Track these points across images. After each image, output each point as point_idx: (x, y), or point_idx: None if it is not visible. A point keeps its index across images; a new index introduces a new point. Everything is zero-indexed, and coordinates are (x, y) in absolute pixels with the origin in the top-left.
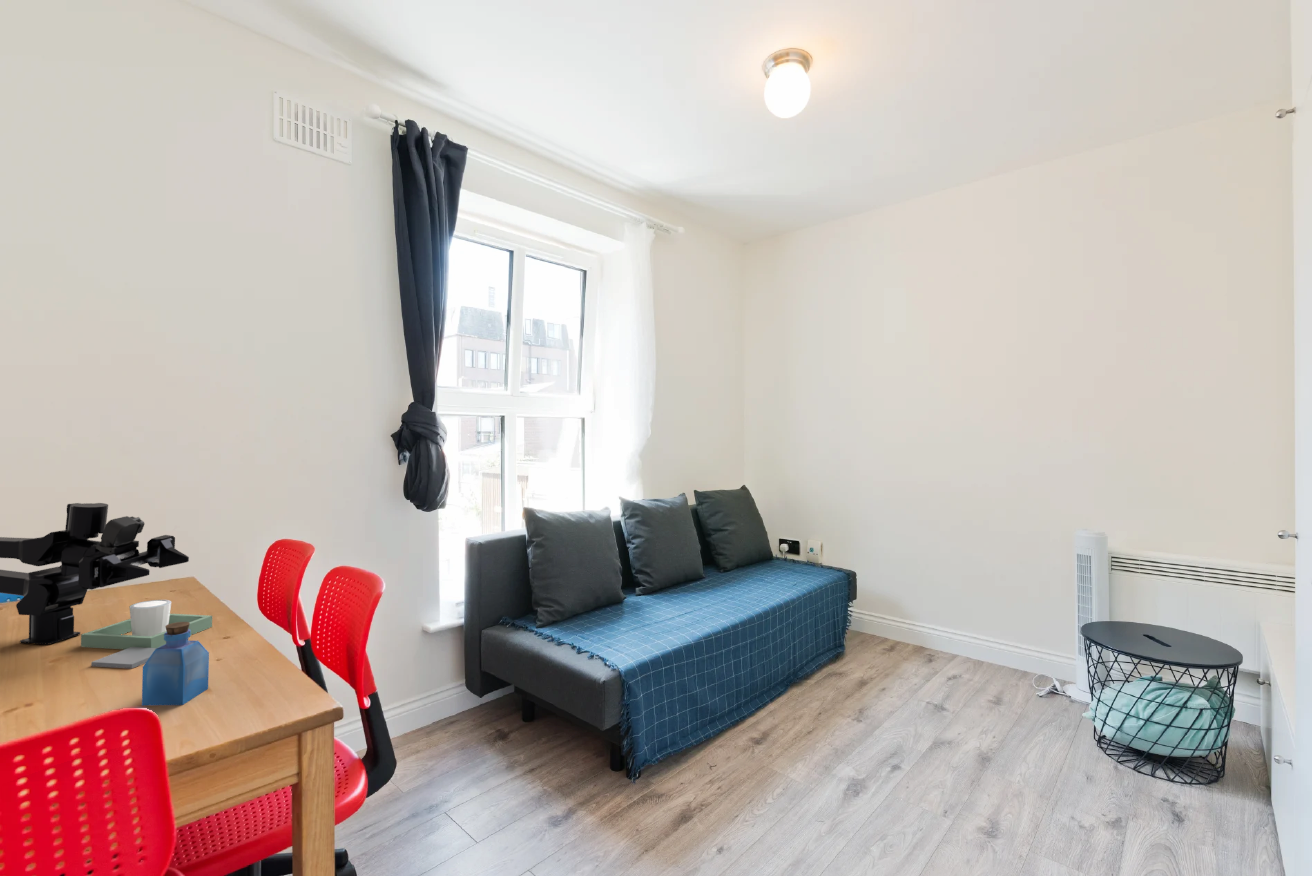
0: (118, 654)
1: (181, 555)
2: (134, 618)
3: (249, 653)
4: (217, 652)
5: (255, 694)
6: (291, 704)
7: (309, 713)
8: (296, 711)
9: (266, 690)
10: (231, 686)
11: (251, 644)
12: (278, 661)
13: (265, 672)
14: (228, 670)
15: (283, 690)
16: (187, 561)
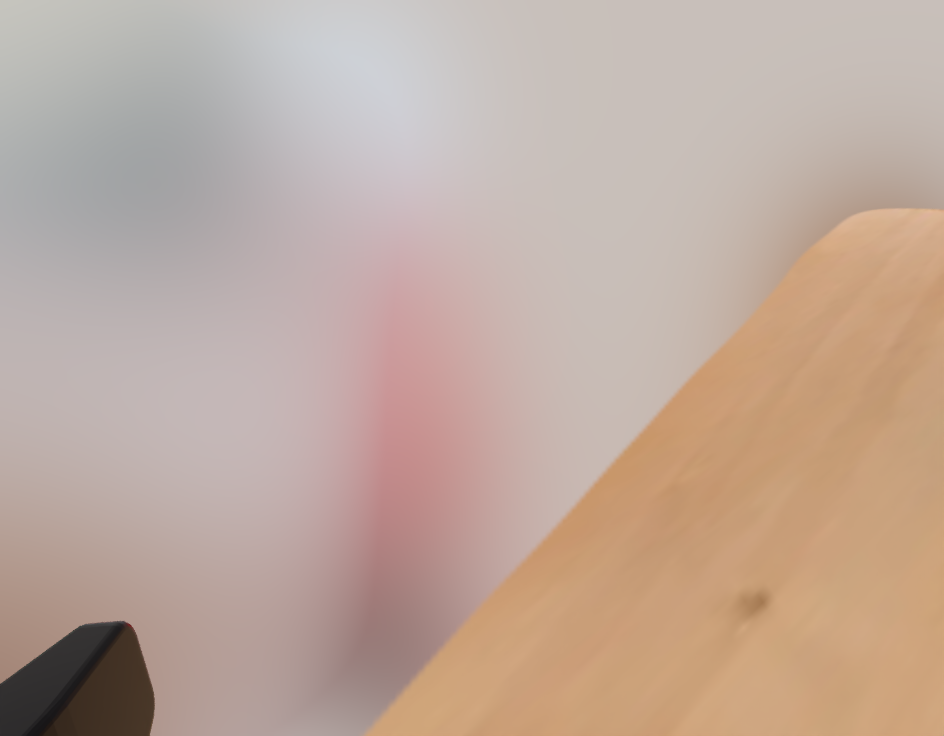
0: None
1: (66, 703)
2: None
3: (624, 554)
4: (672, 693)
5: (916, 314)
6: (897, 246)
7: (905, 212)
8: (917, 226)
9: (876, 313)
10: (926, 383)
11: (502, 637)
12: (661, 421)
13: (769, 389)
14: (829, 482)
15: (847, 292)
16: (150, 691)
